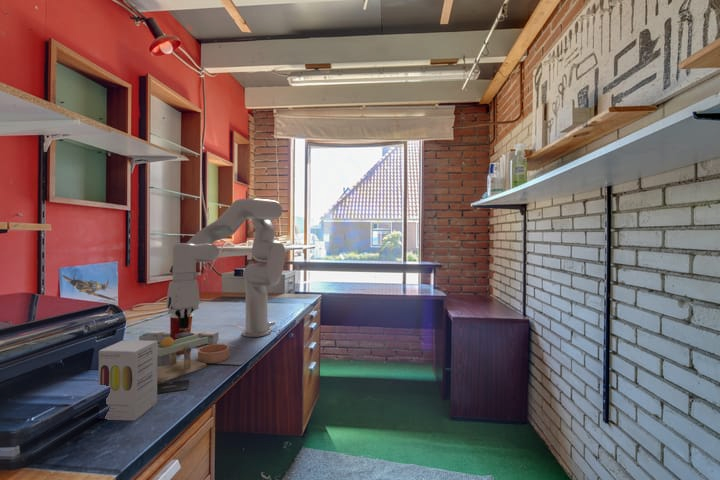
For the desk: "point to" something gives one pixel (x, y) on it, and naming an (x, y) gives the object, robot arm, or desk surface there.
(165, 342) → the ball
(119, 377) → the supplement box
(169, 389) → the solid state drive
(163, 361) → the lever tray
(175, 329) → the coffee cup
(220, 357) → the bowl
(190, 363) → the stand
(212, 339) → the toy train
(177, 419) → the desk surface
